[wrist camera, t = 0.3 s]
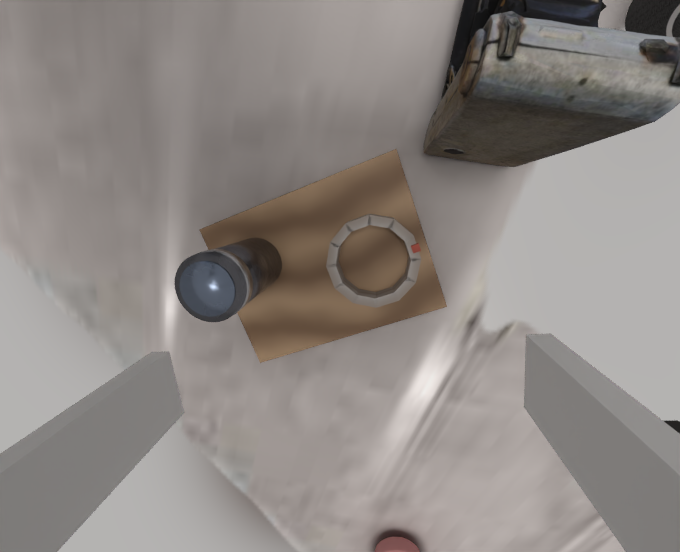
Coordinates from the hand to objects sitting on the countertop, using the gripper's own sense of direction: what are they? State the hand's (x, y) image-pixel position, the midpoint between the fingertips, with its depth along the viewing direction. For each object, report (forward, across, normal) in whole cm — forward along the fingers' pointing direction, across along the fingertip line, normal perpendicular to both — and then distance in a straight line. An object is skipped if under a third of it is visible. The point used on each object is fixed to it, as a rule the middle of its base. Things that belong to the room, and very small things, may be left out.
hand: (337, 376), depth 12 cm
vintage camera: (+26, +13, +16) cm, 34 cm away
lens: (+25, -13, 0) cm, 28 cm away
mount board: (+26, -5, -1) cm, 27 cm away
